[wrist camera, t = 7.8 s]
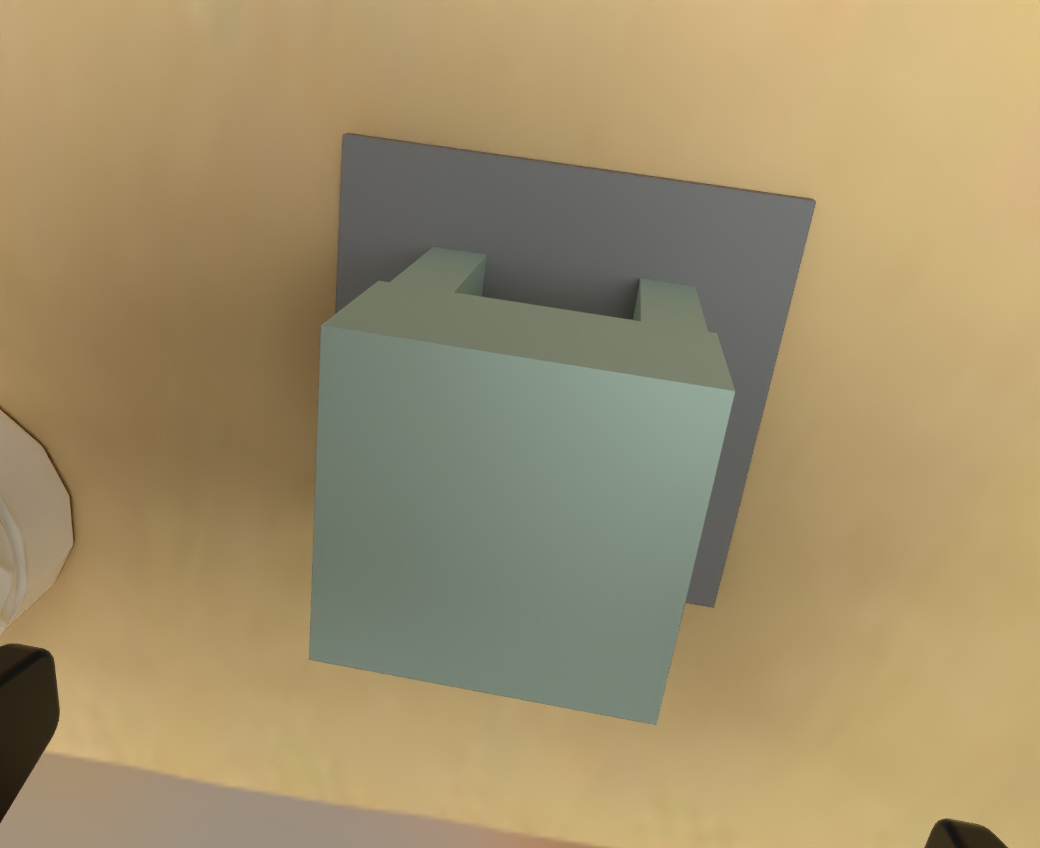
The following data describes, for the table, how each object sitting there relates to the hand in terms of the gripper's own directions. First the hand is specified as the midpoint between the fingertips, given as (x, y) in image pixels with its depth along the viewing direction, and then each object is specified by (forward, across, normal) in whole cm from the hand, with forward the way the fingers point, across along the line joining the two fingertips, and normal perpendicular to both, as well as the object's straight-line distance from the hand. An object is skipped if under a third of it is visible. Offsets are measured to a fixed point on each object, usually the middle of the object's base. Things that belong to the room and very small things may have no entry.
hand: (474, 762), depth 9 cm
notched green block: (+12, 0, 0) cm, 12 cm away
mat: (+12, 0, 0) cm, 12 cm away
